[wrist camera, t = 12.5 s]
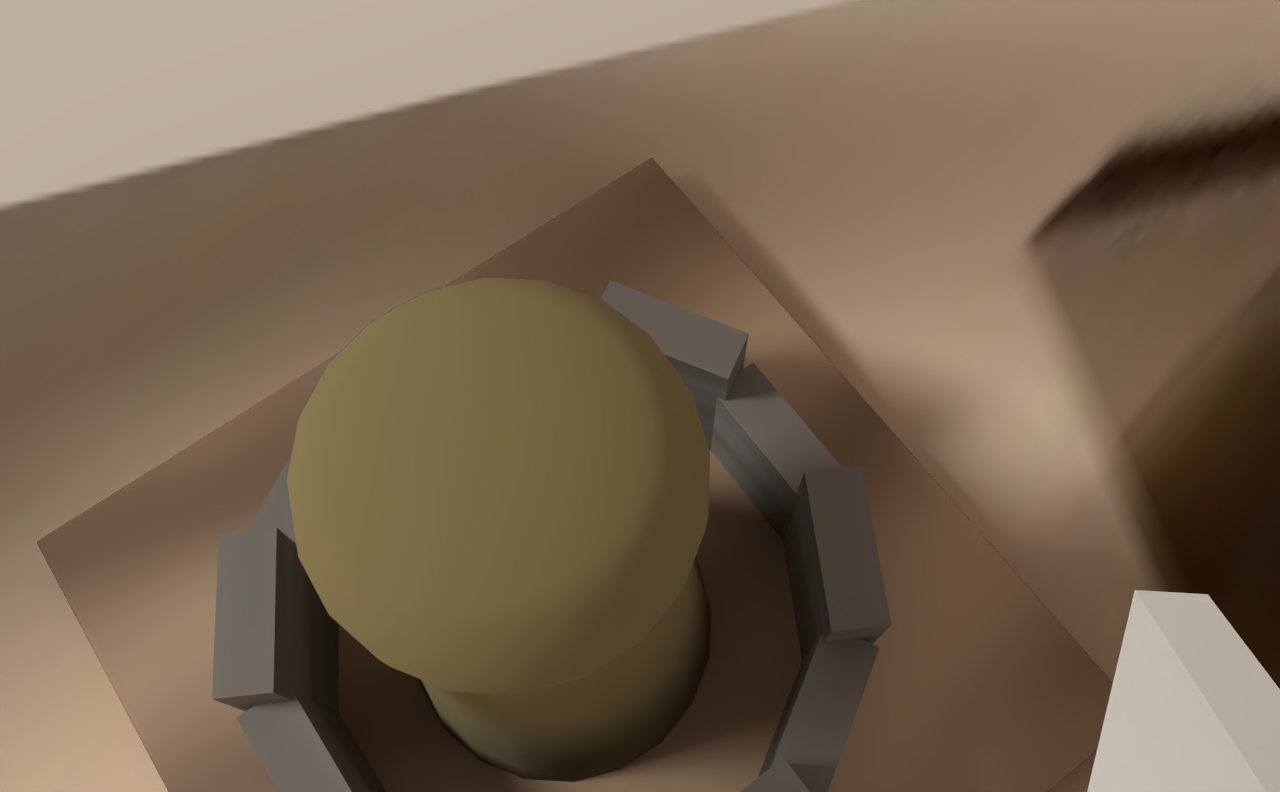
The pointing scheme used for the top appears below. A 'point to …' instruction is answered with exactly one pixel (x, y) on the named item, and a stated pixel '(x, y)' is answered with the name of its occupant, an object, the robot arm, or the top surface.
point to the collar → (727, 558)
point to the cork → (514, 520)
